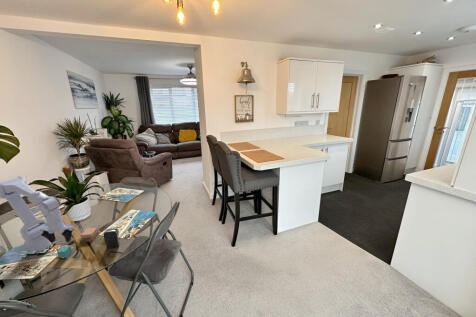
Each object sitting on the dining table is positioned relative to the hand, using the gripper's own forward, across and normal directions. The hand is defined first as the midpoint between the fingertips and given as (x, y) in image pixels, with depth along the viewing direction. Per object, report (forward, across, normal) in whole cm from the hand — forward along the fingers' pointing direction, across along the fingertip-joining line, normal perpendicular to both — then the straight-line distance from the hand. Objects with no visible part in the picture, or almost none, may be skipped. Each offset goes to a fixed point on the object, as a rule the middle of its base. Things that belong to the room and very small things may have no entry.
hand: (61, 241), depth 99 cm
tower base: (+11, +4, +14) cm, 18 cm away
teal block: (+10, 0, 0) cm, 10 cm away
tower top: (+8, +4, +14) cm, 17 cm away
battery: (+10, +22, +6) cm, 25 cm away
